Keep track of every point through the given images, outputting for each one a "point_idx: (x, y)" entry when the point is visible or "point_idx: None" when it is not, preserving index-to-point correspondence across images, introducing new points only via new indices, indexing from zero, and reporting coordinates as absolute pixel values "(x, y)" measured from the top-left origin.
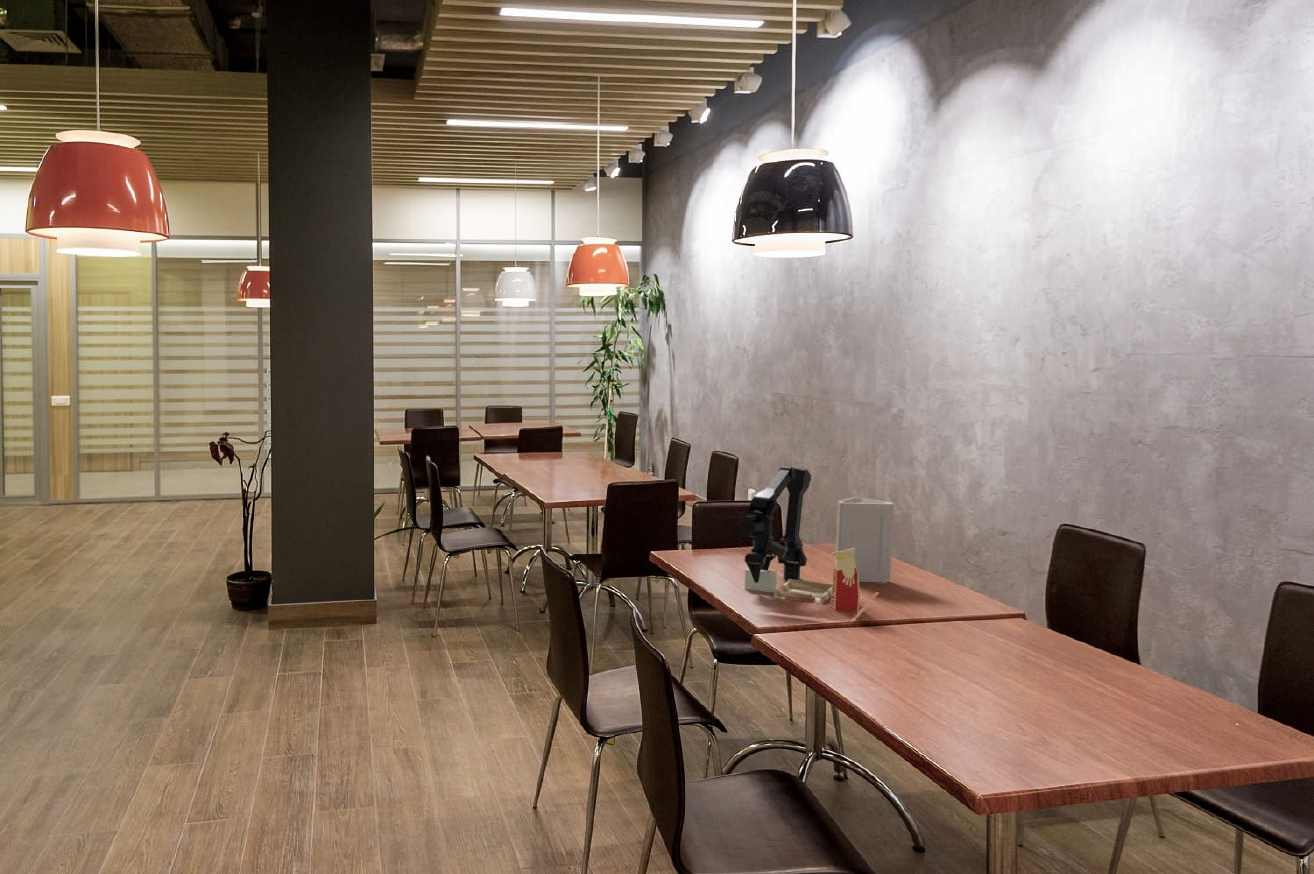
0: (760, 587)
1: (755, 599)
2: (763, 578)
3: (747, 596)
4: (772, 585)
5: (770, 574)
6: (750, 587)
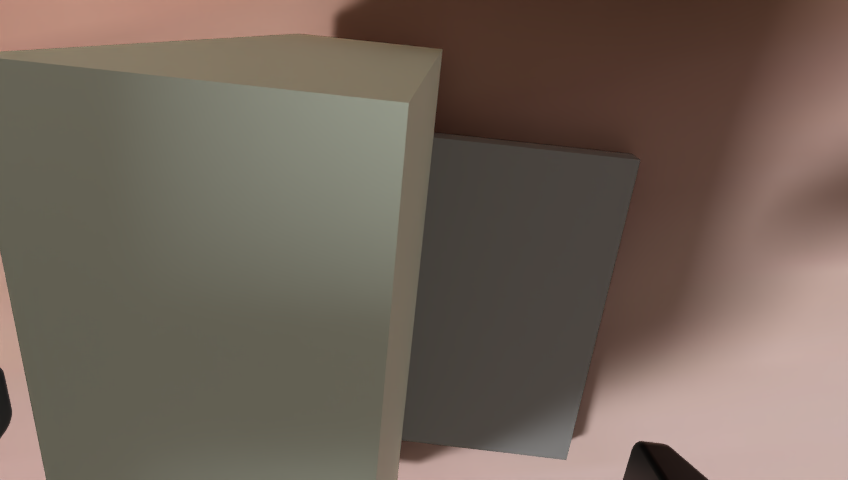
0: (411, 326)
1: (832, 284)
2: (397, 395)
3: (657, 408)
4: (433, 102)
5: (402, 276)
6: (397, 460)
